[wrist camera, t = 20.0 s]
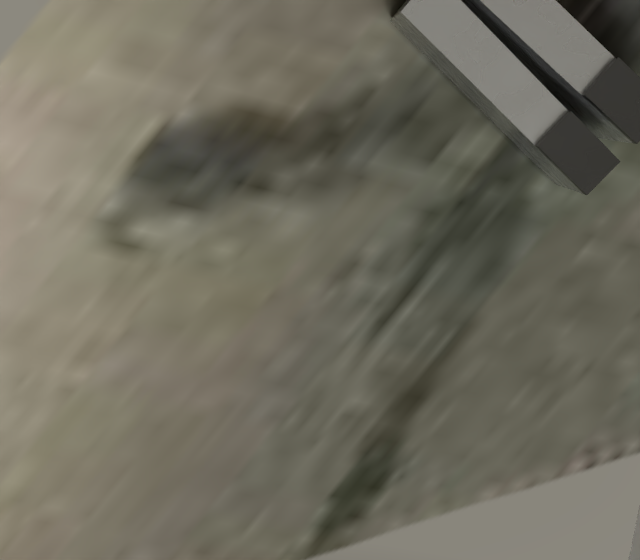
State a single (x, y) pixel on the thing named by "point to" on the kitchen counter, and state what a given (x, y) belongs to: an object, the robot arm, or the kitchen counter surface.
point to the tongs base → (568, 63)
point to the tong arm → (506, 92)
